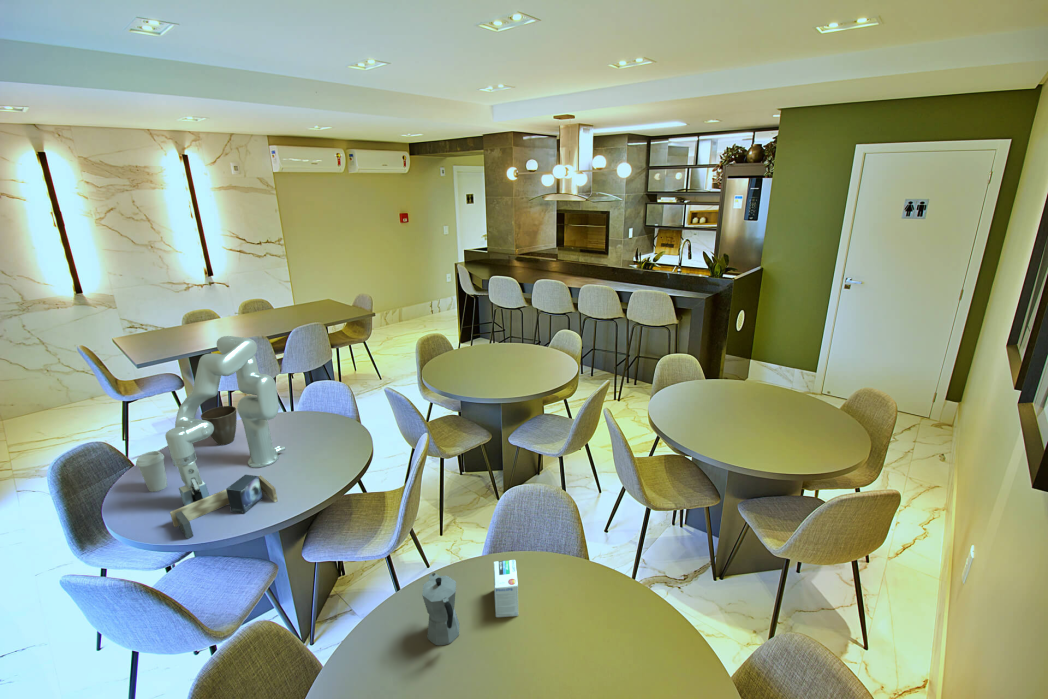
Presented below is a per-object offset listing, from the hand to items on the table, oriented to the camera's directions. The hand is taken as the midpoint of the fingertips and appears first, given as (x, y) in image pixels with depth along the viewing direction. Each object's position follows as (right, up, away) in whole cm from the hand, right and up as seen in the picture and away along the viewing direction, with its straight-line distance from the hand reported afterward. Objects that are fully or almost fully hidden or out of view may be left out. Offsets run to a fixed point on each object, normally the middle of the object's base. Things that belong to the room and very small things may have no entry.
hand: (195, 497), depth 198 cm
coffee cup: (-23, +1, +12) cm, 26 cm away
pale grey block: (0, -2, +1) cm, 2 cm away
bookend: (+7, -7, -17) cm, 20 cm away
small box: (+22, -3, -2) cm, 22 cm away
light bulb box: (+125, -16, -51) cm, 136 cm away
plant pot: (-17, +13, +49) cm, 53 cm away
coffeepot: (+108, -19, -61) cm, 126 cm away
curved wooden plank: (+16, -4, -6) cm, 18 cm away
